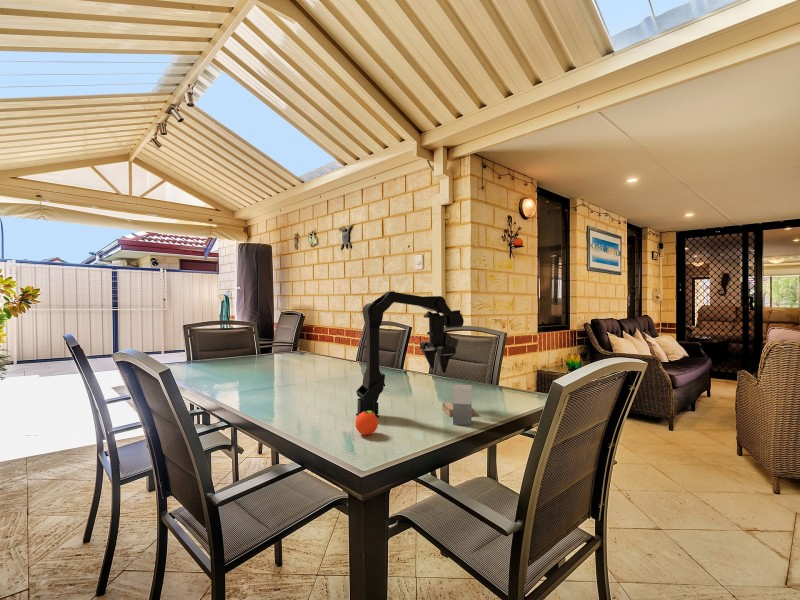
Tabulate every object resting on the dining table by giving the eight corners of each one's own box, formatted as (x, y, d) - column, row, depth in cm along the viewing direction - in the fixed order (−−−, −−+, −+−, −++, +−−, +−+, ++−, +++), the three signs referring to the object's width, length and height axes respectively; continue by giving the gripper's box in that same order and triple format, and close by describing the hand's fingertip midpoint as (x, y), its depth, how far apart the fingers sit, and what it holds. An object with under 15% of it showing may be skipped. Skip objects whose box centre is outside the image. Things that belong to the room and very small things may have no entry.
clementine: (365, 428, 125) (366, 406, 125) (384, 432, 121) (384, 409, 121) (350, 435, 118) (350, 412, 118) (369, 440, 114) (369, 415, 114)
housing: (452, 424, 129) (453, 388, 129) (453, 419, 135) (454, 384, 135) (471, 425, 128) (471, 389, 128) (471, 420, 134) (471, 385, 134)
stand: (449, 416, 138) (449, 409, 138) (442, 409, 147) (442, 402, 147) (473, 415, 139) (473, 408, 139) (465, 408, 148) (465, 402, 148)
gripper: (468, 329, 143) (469, 372, 143) (443, 326, 160) (444, 364, 160) (441, 331, 138) (442, 375, 138) (418, 328, 155) (420, 367, 156)
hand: (437, 370), depth 148 cm, fingers open, 9 cm apart
